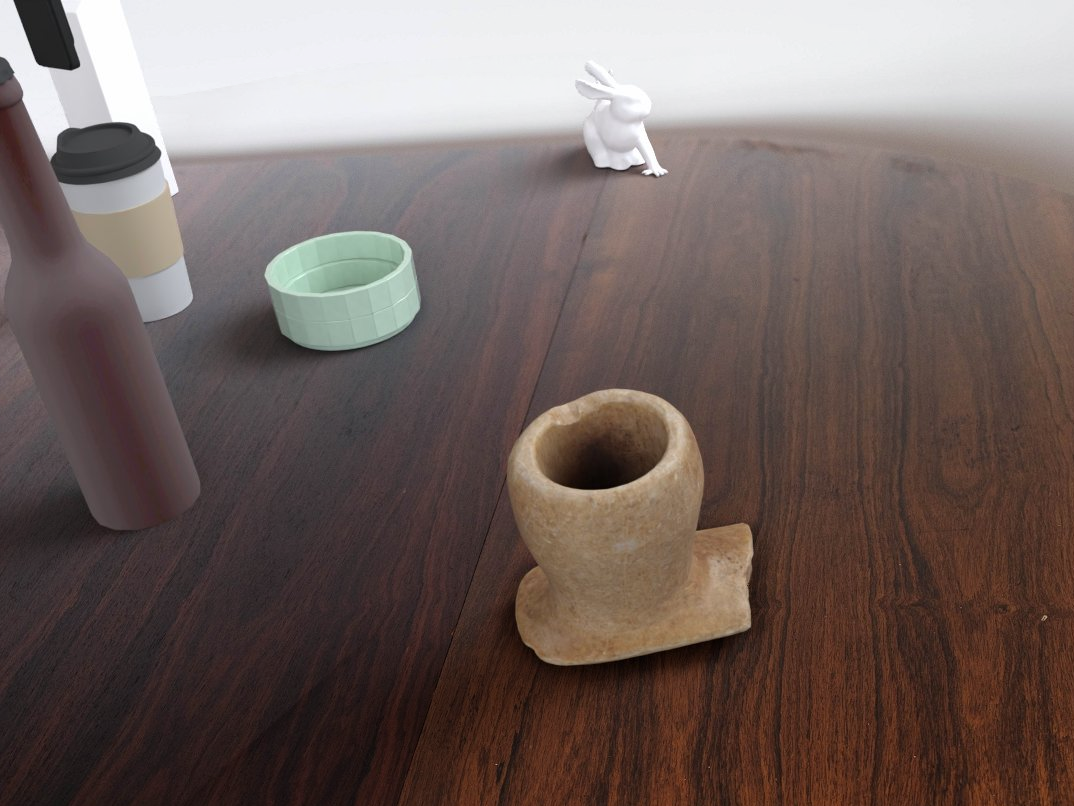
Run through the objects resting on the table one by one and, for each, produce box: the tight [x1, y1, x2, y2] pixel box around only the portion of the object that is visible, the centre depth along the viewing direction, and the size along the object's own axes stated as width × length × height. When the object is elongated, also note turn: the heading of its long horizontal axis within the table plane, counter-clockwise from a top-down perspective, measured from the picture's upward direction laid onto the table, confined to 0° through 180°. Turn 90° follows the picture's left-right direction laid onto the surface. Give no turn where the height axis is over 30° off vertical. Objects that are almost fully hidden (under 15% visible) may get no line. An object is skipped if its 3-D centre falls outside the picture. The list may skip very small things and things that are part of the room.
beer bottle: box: [0, 56, 201, 531], centre depth 81 cm, size 8×8×30 cm
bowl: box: [263, 230, 422, 352], centre depth 109 cm, size 12×12×5 cm
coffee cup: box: [49, 122, 194, 323], centre depth 111 cm, size 9×9×15 cm
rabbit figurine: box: [574, 60, 669, 177], centre depth 128 cm, size 12×8×10 cm, turn 20°
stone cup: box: [506, 388, 754, 666], centre depth 73 cm, size 15×12×15 cm
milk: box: [47, 0, 180, 197], centre depth 127 cm, size 6×6×22 cm
